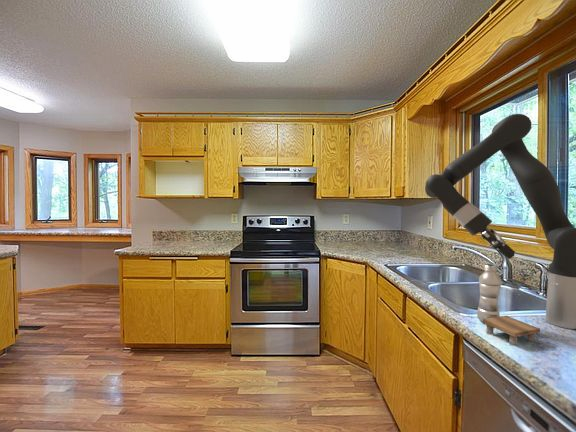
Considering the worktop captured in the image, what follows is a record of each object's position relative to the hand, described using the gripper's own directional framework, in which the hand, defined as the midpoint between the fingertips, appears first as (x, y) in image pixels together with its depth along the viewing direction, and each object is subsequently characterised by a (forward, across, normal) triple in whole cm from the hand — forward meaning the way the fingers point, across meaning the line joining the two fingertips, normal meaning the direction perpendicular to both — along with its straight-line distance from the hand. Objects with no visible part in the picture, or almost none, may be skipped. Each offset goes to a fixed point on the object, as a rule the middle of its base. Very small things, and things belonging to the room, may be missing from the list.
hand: (512, 255), depth 93 cm
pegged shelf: (+18, -5, +17) cm, 25 cm away
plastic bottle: (+13, +3, +22) cm, 25 cm away
